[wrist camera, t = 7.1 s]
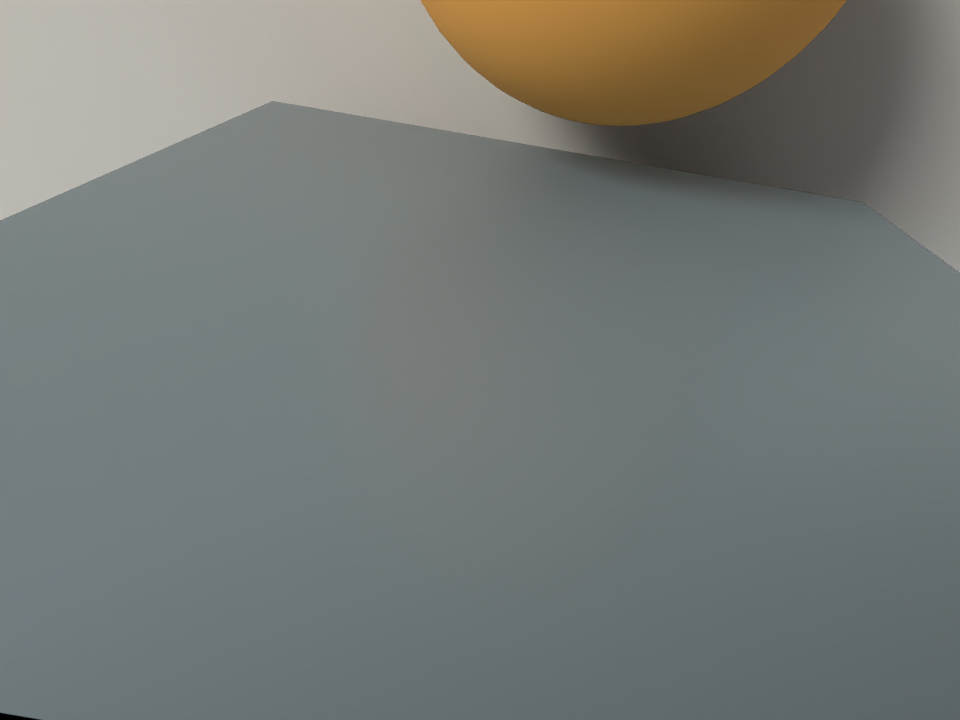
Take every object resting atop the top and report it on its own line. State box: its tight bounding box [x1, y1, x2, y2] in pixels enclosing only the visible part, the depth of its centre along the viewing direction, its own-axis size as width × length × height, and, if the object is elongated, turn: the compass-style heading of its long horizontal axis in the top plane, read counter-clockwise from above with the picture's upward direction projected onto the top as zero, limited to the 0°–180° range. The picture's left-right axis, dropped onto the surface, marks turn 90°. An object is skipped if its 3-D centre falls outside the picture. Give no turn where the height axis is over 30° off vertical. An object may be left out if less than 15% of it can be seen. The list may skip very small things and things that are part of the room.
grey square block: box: [0, 101, 960, 720], centre depth 8 cm, size 8×8×9 cm
